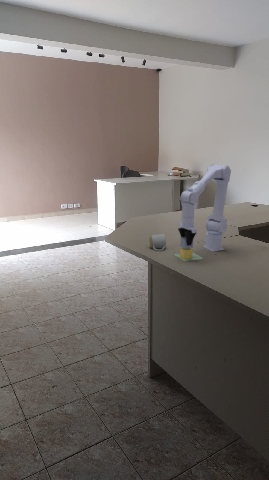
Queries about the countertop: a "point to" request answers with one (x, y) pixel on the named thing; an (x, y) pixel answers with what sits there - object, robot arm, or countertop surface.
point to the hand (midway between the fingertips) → (186, 243)
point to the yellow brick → (186, 253)
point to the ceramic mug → (158, 242)
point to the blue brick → (184, 244)
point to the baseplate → (194, 257)
